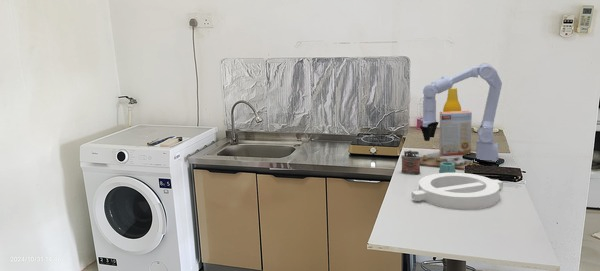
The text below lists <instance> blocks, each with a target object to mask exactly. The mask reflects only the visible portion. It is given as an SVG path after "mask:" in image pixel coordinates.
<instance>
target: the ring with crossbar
mask: <svg viewBox="0 0 600 271" xmlns="http://www.w3.org/2000/svg"><path fill="white" fill-rule="evenodd" d="M503 188H504V182H503V181H501V180H499V179H492V178H489V177H486V176H484V175H478V174H473V173H465V172H455V173H439V172H438V173H432V174H429V175H426V176H424V177H421V179H419V180H418V190H415V191H411V199H412V200H414V201H416V202H417V201H419V202H420V201H424V202H425V203H427V204H431V205H433V206H437V207H440V208H446V209H452V210H453V209H454V210H479V209H484V208H488V207H489V208H490V207H492V206H494V205H496V204H497V203H498V202H500V190H501V189H503Z"/></svg>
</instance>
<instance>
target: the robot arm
mask: <svg viewBox="0 0 600 271" xmlns="http://www.w3.org/2000/svg"><path fill="white" fill-rule="evenodd" d="M479 77H480V78H481V79H483V81H486V83H487V84H488V85H489V87H488V88H489V89H488V92H487V93H488V94H487V98H486V102H485V107H484V112H483V116H482V120H481V123H480V126H479V127H478V129H477V131H476V134H477V136H478V139H477V140H476V146H475V147H476V148H475V149H476V150H475V151H476V152H475V158H477V159H480V160H492V161H495V162H496V161H497V160H498V161H499V157H500V156H499V153H500V152H499V147H500V145H499V142H494V139H495V138H494V137H495V134H494V122H495V117H496V113H497V107H498V104H499V99H500V95H501V90H502V84H503V82H502V80H501V78H500V76H499V74H498V71H497V70H496V68H494V67H493V66H492V65H491V64H489V63H486V62H484V63H481V64H480V65H474V66H472V67H470V68H467V69H465V70H463V71H461V72H459V73H457V74H455V75H453V76H451V77H449V76H441V77H440V79H438V80H436V81H431V83H428V84H426V85H425V86H424V87H423V90H422V94H423V101H422V107H423V108H422V118H421V119H420V122H422V124H421V125H420V126H419V128H420V130H421V133H422V136H423V140H424V142H430V140H431V138H435V134H436V130H437V127H438V125H439V124H440V121H437V100H436V95H437V94H439V95H440V94H442V93H443V92H446V91H448V89H450V88H453V87H454V84H457V83H459V82H462V81H464V80H468V79H469V78H479ZM498 161H497V162H498ZM473 162H474V163H478V162H477V161H475V159H474V160H473Z"/></svg>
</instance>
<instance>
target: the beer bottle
mask: <svg viewBox="0 0 600 271" xmlns="http://www.w3.org/2000/svg"><path fill="white" fill-rule="evenodd" d="M458 96H459V95H458V88H457V87H452V88H450V89H448V90H447V97H446V101H445V103H444V105H443V109H442V112H448V111H462V107H461V104H460V102H459V99H458Z"/></svg>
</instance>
